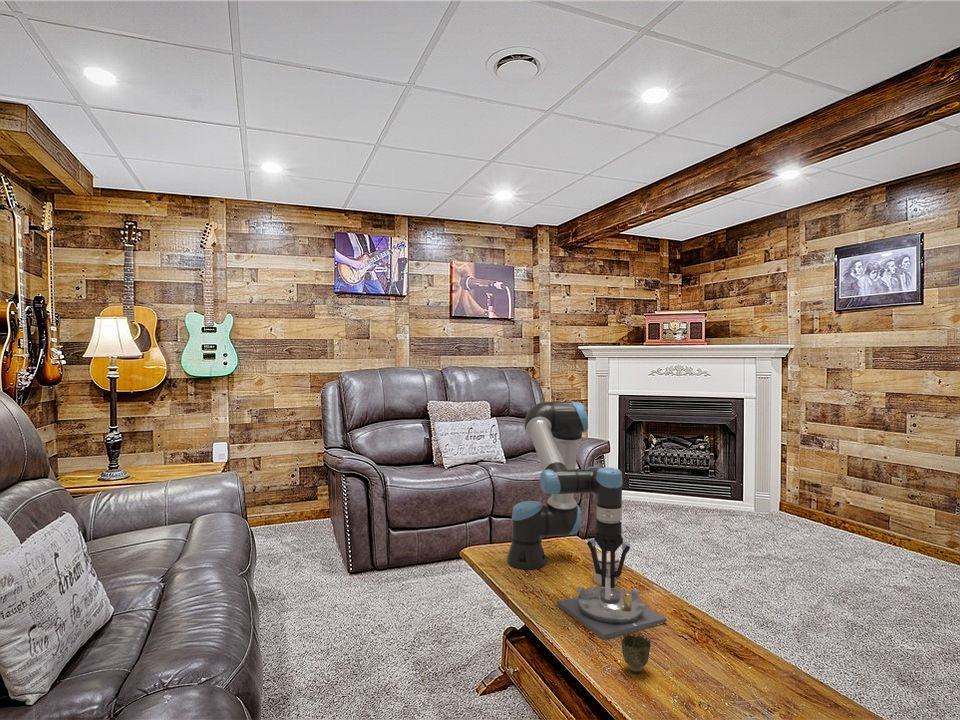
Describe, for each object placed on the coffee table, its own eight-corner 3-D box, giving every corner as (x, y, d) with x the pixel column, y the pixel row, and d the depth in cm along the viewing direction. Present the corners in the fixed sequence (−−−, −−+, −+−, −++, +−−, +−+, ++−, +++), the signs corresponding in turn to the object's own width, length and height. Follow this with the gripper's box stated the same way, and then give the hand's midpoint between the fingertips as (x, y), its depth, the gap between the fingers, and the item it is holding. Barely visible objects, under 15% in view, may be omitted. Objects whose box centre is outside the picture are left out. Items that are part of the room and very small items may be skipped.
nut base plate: (557, 605, 185) (557, 600, 185) (615, 592, 195) (615, 587, 195) (603, 639, 163) (604, 634, 163) (666, 623, 174) (666, 617, 174)
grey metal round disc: (562, 602, 183) (562, 577, 183) (616, 590, 193) (616, 566, 193) (602, 630, 165) (603, 603, 165) (660, 615, 175) (660, 589, 175)
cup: (628, 659, 153) (628, 630, 153) (654, 669, 148) (655, 639, 148) (615, 671, 147) (616, 640, 147) (642, 682, 143) (643, 650, 142)
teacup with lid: (602, 588, 199) (603, 555, 199) (587, 578, 207) (588, 547, 207) (630, 583, 204) (630, 551, 203) (614, 574, 212) (614, 543, 212)
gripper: (585, 521, 170) (584, 599, 170) (630, 525, 166) (629, 606, 166) (588, 514, 177) (588, 589, 177) (631, 518, 173) (631, 595, 173)
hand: (608, 597), depth 171 cm, fingers closed
